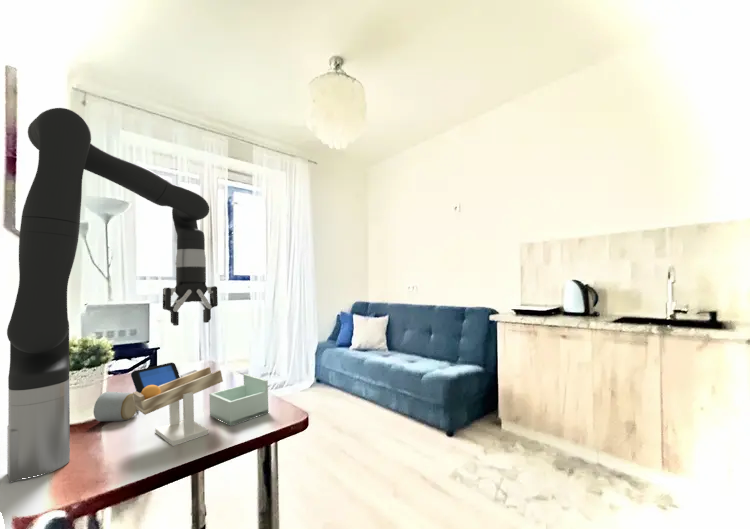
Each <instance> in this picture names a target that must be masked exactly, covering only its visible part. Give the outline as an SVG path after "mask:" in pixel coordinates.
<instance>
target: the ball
mask: <svg viewBox="0 0 750 529" xmlns="http://www.w3.org/2000/svg"><path fill="white" fill-rule="evenodd" d="M141 394H142V395H144V397H145V400H146V399H148V398H151V397H153V396H156V395H158V394H161V390H160V388H159V387H158V386H157V385H148V386H146V387H145V388H144V389H143V390H142V392H141Z"/></svg>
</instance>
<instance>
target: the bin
mask: <svg viewBox="0 0 750 529" xmlns="http://www.w3.org/2000/svg"><path fill="white" fill-rule="evenodd" d="M268 381H269V380H268V379H264V378H261V377H257V376H254V375H251V374H247V373H244V374H243V384H242V385H238V386H233V387H229V388H226V389H222V390H219V391H215V392H211V393H209V395H208V396H209V416H210V415H211V416H210V417H212V416H213V417H212V418H214V417H215V418H214V419H216V418H217V419H219V420H221V421H223V422H225V423H227V424H228V425H227V424H226V425H227V426H229V425H230V426H229V427H232V426H235V425H238V424H241V423H244V422H246V420H247V421H249V419H250V420H252V419H255V418H257V417H256V416H258V417H260V416H259V415H261V416H263V415H262V414H264V415H266V414H265V413H267V414H269V413H268V412H269V411H270V410H269V386H268V383H269V382H268ZM254 417H255V418H254ZM251 418H252V419H251ZM217 419H216V420H217ZM219 420H218V421H219ZM221 421H220V422H221ZM243 421H244V422H243ZM223 422H222V423H223ZM225 423H224V424H225ZM237 423H238V424H237ZM234 424H235V425H234ZM231 425H232V426H231Z"/></svg>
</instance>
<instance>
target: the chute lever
mask: <svg viewBox="0 0 750 529" xmlns="http://www.w3.org/2000/svg"><path fill="white" fill-rule="evenodd" d="M179 377H180V378H178V379H176V380H173V381H171V382H168V383H165V384H163V385H160V386H158V387H159V388H160V390H161V394H158V395H156V396H153V397H151V398H148V399H146V400H145V397H144V395H142V394H141V393H139V392H137V391H136V390H135V391H133V392H132V393H133V400H134V404H135V408H136V409H137V410H139V411H138V412H140V413H142V414H143V415H144V416H147V415H149V414H151V413H153V412H155V411H158V410H160V409H162V408H164V407H167V406H169V404H172V403H174V402H176V401H179V402H180V400H183V394H186V393H190V392H193V395H194V394H197V393H200V392H202V391H204V390H207V389H209V388H211V387H213V386H215V385H218V384H221V383H223V382H224V380H223V376H222V371H221V369H219V370H216V371H214V372H212V370H211V367H210V366H207V367H204V368H201V369H199V370H197V369H194V370H192V371H189V372H185V373H183V374H181V375H180V374H179Z"/></svg>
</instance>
